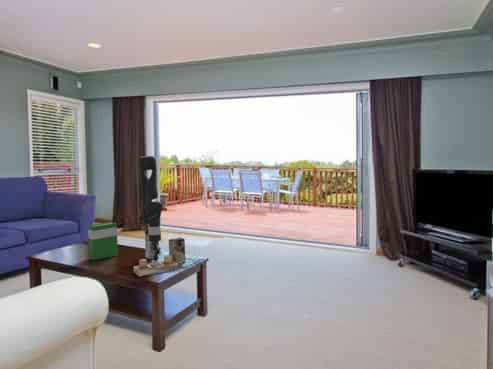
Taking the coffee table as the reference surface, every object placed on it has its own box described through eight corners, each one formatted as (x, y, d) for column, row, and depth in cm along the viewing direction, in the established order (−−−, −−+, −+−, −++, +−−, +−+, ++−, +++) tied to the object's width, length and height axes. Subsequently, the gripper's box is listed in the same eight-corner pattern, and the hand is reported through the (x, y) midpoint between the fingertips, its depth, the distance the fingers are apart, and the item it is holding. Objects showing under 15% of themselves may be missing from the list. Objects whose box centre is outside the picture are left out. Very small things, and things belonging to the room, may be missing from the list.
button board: (133, 271, 231) (133, 266, 231) (171, 264, 245) (171, 259, 245) (139, 276, 222) (139, 270, 222) (178, 268, 236) (177, 263, 236)
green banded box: (113, 253, 276) (111, 221, 274) (117, 255, 271) (116, 223, 269) (89, 258, 263) (87, 225, 261) (94, 260, 258) (92, 226, 256)
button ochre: (163, 263, 239) (162, 255, 238) (169, 262, 241) (169, 254, 241) (165, 264, 235) (165, 257, 235) (172, 263, 237) (172, 256, 237)
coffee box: (181, 260, 256) (180, 237, 255) (185, 262, 251) (185, 238, 249) (169, 262, 250) (168, 239, 249) (173, 264, 245) (172, 240, 244)
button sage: (151, 267, 234) (150, 260, 234) (158, 266, 237) (157, 259, 237) (153, 269, 231) (153, 261, 230) (160, 268, 233) (160, 260, 233)
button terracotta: (138, 267, 230) (138, 259, 229) (145, 266, 232) (145, 258, 232) (140, 269, 226) (140, 261, 226) (148, 268, 229) (148, 260, 228)
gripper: (145, 232, 235) (146, 259, 237) (152, 235, 224) (153, 263, 226) (156, 230, 240) (157, 257, 241) (164, 234, 229) (165, 261, 230)
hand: (155, 260), depth 233 cm, fingers closed
